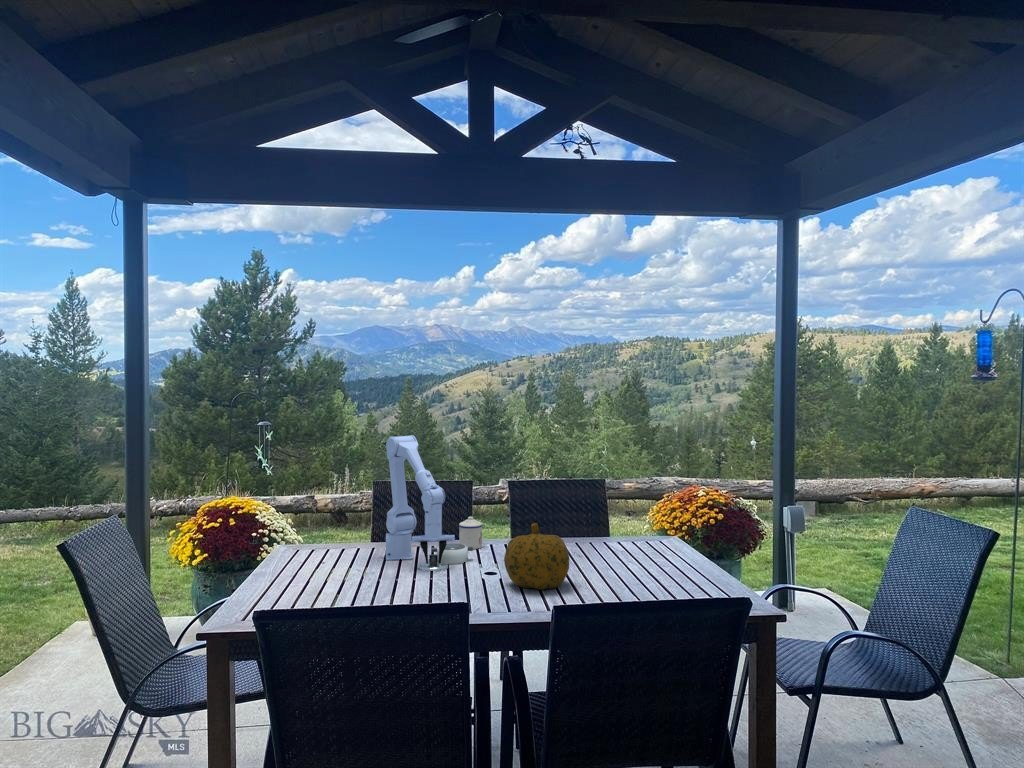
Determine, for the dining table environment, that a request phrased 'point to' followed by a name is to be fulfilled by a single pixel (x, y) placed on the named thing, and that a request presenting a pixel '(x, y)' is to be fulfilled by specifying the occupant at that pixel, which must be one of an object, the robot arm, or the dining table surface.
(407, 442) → the robot arm
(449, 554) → the pot
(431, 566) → the lid
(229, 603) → the dining table surface
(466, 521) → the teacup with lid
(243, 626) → the dining table surface
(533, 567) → the decorative pumpkin
